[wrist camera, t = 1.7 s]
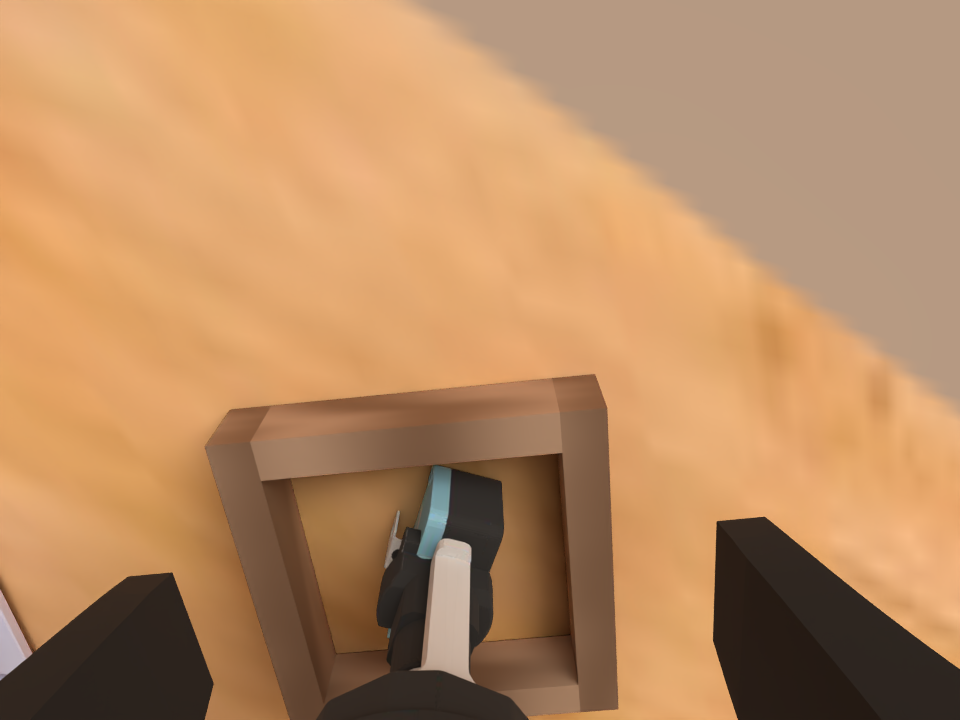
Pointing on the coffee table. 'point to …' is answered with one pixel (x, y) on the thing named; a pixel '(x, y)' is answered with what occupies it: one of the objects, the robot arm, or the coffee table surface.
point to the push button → (436, 609)
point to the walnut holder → (409, 443)
